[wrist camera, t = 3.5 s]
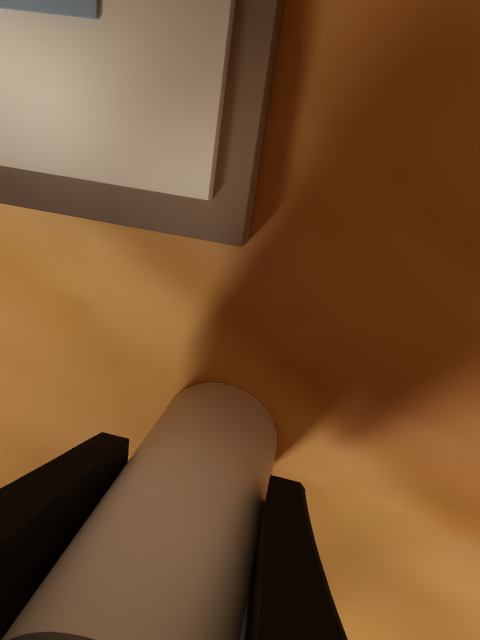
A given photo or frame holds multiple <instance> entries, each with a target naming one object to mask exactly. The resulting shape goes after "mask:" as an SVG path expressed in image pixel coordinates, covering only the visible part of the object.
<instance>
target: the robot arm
mask: <svg viewBox="0 0 480 640" xmlns="http://www.w3.org/2000/svg"><path fill="white" fill-rule="evenodd" d="M128 448H129V439H127V438H123V437H119V436H115V435H111V434H107V433H104V432H102V433H100V434H98V435H96V436H94V437H92V438H90V439H89V440H87V441H85V442H83V443H82V444H80V445H78V446H76V447H74V448H73V449H71V450H69V451H67V452H66V453H64V454H62V455H60V456H59V457H57V458H55V459H53V460H52V461H50V462H48V463H46V464H44V465H43V466H41V467H39V468H37V469H35V470H34V471H32V472H30V473H28V474H26V475H24V476H23V477H21V478H19V479H17V480H15V481H14V482H12V483H10V484H8V485H6V486H4V487H2V488H0V640H2V638H3V637H4V635H5V634H6V633H7V631H8V630H9V628H10V627H11V626H12V624H13V623H14V621H15V620H16V619H17V617H18V616H19V614H20V613H21V611H22V610H23V609H24V607H25V606H26V604H27V603H28V602H29V600H30V599H31V597H32V596H33V595H34V593H35V592H36V590H37V589H38V588H39V586H40V585H41V583H42V582H43V581H44V579H45V578H46V576H47V575H48V574H49V572H50V571H51V569H52V568H53V567H54V565H55V564H56V562H57V561H58V560H59V558H60V557H61V555H62V554H63V553H64V551H65V550H66V548H67V547H68V546H69V544H70V543H71V541H72V540H73V538H74V537H75V536H76V534H77V533H78V531H79V530H80V529H81V527H82V526H83V524H84V523H85V522H86V520H87V519H88V517H89V516H90V515H91V513H92V512H93V510H94V509H95V508H96V506H97V505H98V503H99V502H100V501H101V499H102V498H103V496H104V495H105V494H106V492H107V491H108V489H109V488H110V487H111V485H112V484H113V482H114V481H115V480H116V478H117V477H118V475H119V474H120V473H121V471H122V470H123V468H124V467H125V465H126V464H127V463H128ZM240 640H348V639H347V637H346V634H345V631H344V629H343V626H342V623H341V620H340V618H339V615H338V612H337V609H336V607H335V604H334V601H333V598H332V595H331V592H330V589H329V586H328V582H327V579H326V576H325V573H324V570H323V566H322V563H321V560H320V557H319V553H318V550H317V546H316V542H315V538H314V534H313V530H312V526H311V522H310V518H309V513H308V508H307V502H306V495H305V488H304V487H303V485H302V484H301V483H300V482H296V481H292V480H288V479H284V478H281V477H277V476H273V475H270V479H269V484H268V488H267V493H266V498H265V503H264V508H263V513H262V518H261V523H260V528H259V533H258V538H257V543H256V551H255V560H254V566H253V573H252V578H251V584H250V589H249V594H248V599H247V604H246V609H245V614H244V620H243V625H242V630H241V635H240Z"/></svg>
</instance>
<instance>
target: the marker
mask: <svg viewBox="0 0 480 640" xmlns="http://www.w3.org/2000/svg"><path fill="white" fill-rule="evenodd" d="M276 450H277V432H276V428H275V425H274V422H273V420H272V418H271V416H270V414H269V413H268V411H267V410H266V408H265V407H264V406H263V405H262V404H261V403H260V402H259V401H258V400H257V399H256V398H255V397H253V396H252V395H251V394H249V393H248V392H246V391H244V390H242V389H240V388H238V387H235V386H232V385H229V384H224V383H217V382H208V383H200V384H196V385H193V386H190V387H188V388H186V389H184V390H183V391H181V392H180V393H179V394H177V395H176V396H175V397H174V398H173V400H172V401H171V402H170V404H169V405H168V407H167V408H166V409H165V411H164V412H163V414H162V415H161V416H160V418H159V419H158V421H157V422H156V423H155V425H154V426H153V428H152V429H151V430H150V432H149V433H148V435H147V436H146V437H145V439H144V440H143V442H142V443H141V444H140V446H139V447H138V449H137V450H136V451H135V453H134V454H133V456H132V457H131V458H130V460H129V461H128V463H127V464H126V465H125V467H124V468H123V470H122V471H121V473H120V474H119V475H118V477H117V478H116V480H115V481H114V482H113V484H112V485H111V487H110V488H109V489H108V491H107V492H106V494H105V495H104V496H103V498H102V499H101V501H100V502H99V503H98V505H97V506H96V508H95V509H94V510H93V512H92V513H91V515H90V516H89V517H88V519H87V520H86V522H85V523H84V524H83V526H82V527H81V529H80V530H79V531H78V533H77V534H76V536H75V537H74V538H73V540H72V541H71V543H70V544H69V546H68V547H67V548H66V550H65V551H64V553H63V554H62V555H61V557H60V558H59V560H58V561H57V562H56V564H55V565H54V567H53V568H52V569H51V571H50V572H49V574H48V575H47V576H46V578H45V579H44V581H43V582H42V583H41V585H40V586H39V588H38V589H37V590H36V592H35V593H34V595H33V596H32V597H31V599H30V600H29V602H28V603H27V604H26V606H25V607H24V609H23V610H22V611H21V613H20V614H19V616H18V617H17V619H16V620H15V621H14V623H13V624H12V626H11V627H10V628H9V630H8V631H7V633H6V634H5V635H4V637H3V638H2V640H240V635H241V630H242V625H243V620H244V614H245V609H246V604H247V599H248V594H249V589H250V584H251V578H252V573H253V566H254V560H255V551H256V543H257V538H258V533H259V528H260V523H261V518H262V513H263V508H264V503H265V498H266V493H267V488H268V484H269V479H270V475H272V470H273V465H274V460H275V455H276Z"/></svg>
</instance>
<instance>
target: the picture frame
mask: <svg viewBox="0 0 480 640" xmlns="http://www.w3.org/2000/svg"><path fill="white" fill-rule="evenodd" d="M284 2H285V0H0V203H2V204H8V205H13V206H19V207H24V208H30V209H35V210H41V211H46V212H52V213H57V214H63V215H68V216H74V217H79V218H85V219H90V220H96V221H102V222H107V223H113V224H118V225H124V226H129V227H135V228H140V229H146V230H151V231H157V232H162V233H168V234H173V235H179V236H184V237H190V238H195V239H201V240H206V241H212V242H218V243H223V244H229V245H234V246H240V247H242V246H243V245H244V244H245V243H247V242H248V240H249V233H250V227H251V220H252V214H253V207H254V200H255V194H256V187H257V181H258V174H259V167H260V161H261V154H262V148H263V141H264V134H265V128H266V121H267V114H268V108H269V101H270V95H271V88H272V81H273V75H274V68H275V62H276V55H277V48H278V42H279V35H280V28H281V22H282V15H283V9H284Z"/></svg>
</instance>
